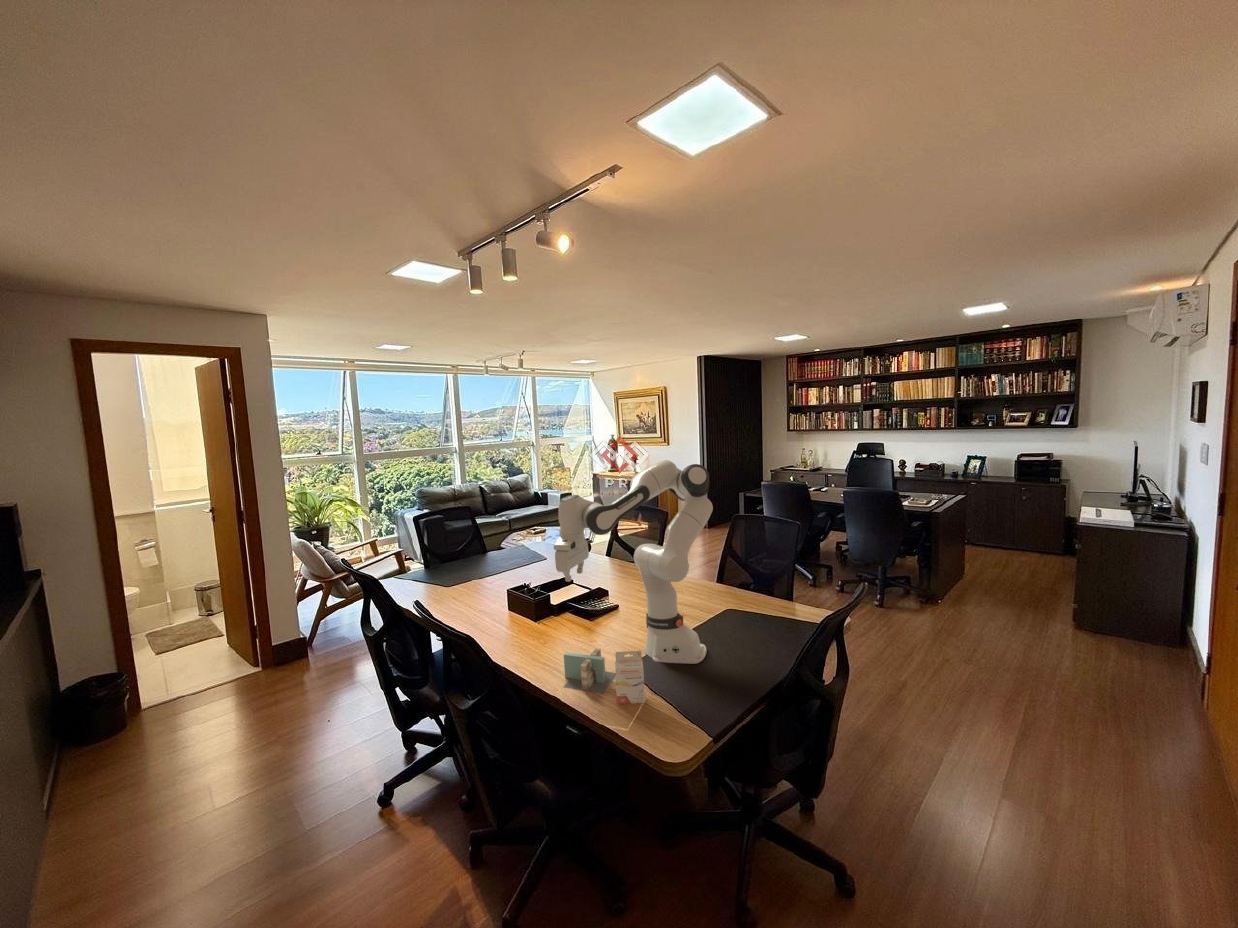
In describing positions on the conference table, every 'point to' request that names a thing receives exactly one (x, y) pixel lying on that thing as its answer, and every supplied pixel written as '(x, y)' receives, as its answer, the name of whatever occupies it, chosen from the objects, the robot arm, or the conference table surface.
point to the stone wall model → (588, 671)
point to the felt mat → (595, 685)
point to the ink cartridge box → (629, 678)
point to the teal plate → (574, 666)
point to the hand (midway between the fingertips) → (574, 576)
